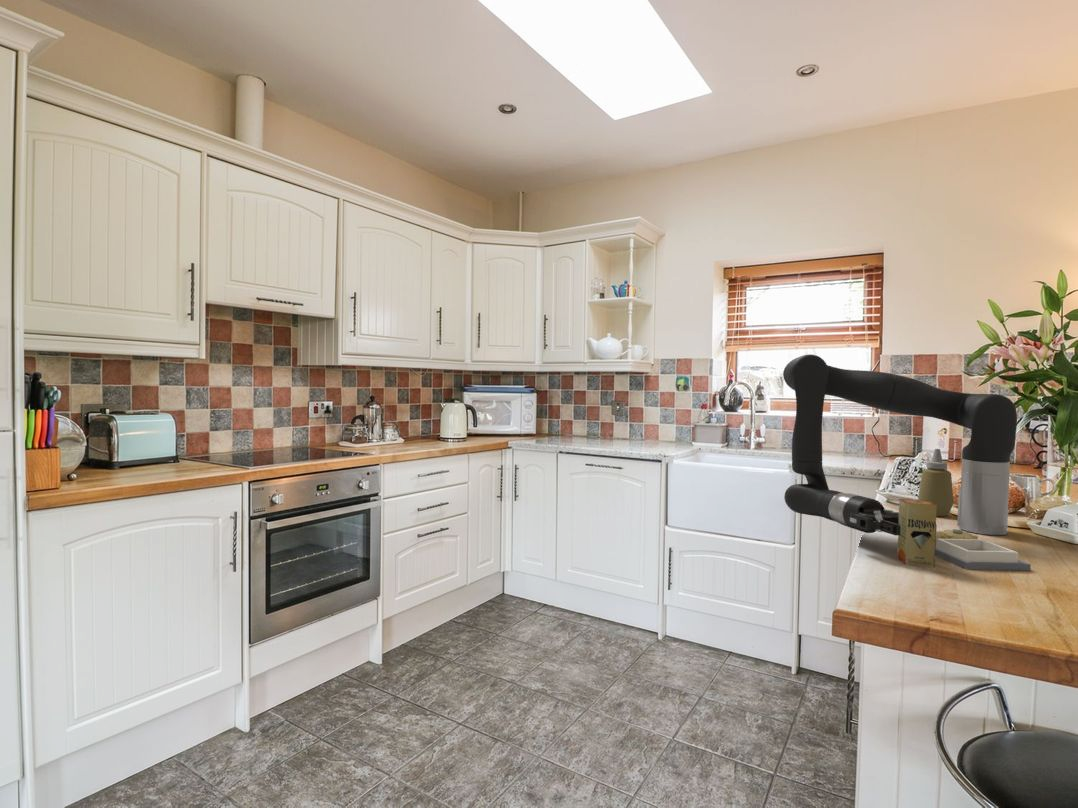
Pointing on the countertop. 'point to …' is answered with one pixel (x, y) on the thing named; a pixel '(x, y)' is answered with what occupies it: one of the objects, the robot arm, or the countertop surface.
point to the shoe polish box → (917, 532)
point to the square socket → (989, 553)
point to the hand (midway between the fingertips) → (917, 529)
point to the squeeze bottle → (937, 485)
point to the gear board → (974, 565)
